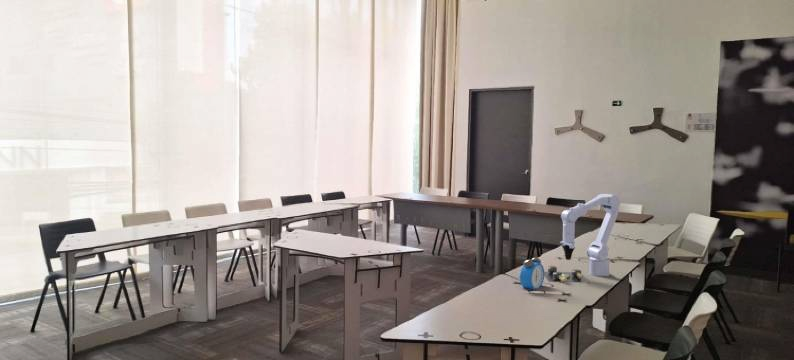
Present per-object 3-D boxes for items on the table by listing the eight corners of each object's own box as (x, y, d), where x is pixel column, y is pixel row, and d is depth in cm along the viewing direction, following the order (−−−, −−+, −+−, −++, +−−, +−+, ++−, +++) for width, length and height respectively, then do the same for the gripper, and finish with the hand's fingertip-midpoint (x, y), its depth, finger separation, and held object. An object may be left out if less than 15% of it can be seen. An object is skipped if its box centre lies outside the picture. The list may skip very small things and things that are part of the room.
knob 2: (551, 278, 268) (551, 272, 268) (559, 277, 269) (559, 271, 269) (561, 283, 258) (561, 277, 258) (569, 283, 259) (569, 276, 259)
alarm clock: (530, 293, 247) (531, 261, 246) (518, 290, 251) (519, 259, 250) (544, 287, 256) (545, 257, 255) (533, 285, 260) (533, 255, 259)
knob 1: (556, 274, 275) (556, 268, 275) (547, 273, 277) (548, 267, 276) (556, 270, 285) (557, 264, 285) (548, 269, 286) (548, 263, 286)
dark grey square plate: (579, 274, 281) (579, 270, 281) (589, 284, 261) (590, 280, 261) (541, 273, 283) (541, 269, 282) (548, 284, 263) (548, 279, 263)
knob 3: (571, 275, 274) (571, 269, 273) (579, 275, 273) (580, 269, 273) (576, 280, 264) (576, 274, 263) (585, 280, 263) (585, 274, 263)
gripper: (557, 230, 278) (556, 256, 279) (564, 235, 263) (563, 262, 264) (571, 230, 277) (570, 256, 278) (578, 236, 263) (578, 262, 264)
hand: (568, 259), depth 271 cm, fingers closed
